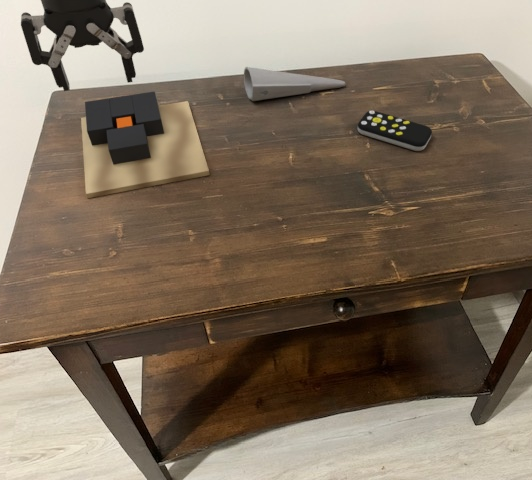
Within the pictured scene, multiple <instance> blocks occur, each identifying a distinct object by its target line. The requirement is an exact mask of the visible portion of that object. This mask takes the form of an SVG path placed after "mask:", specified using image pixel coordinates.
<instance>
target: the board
mask: <svg viewBox="0 0 532 480" xmlns="http://www.w3.org/2000/svg"><path fill="white" fill-rule="evenodd" d="M158 108H159V112H160V116H161V120H162V125H163V129H164V134H158V135H153V136H147V140H148V145H149V150H150V155H151V158H148V159H142V160H137V161H131V162H125V163H120V164H113V162H112V159H111V156H110V153H109V149H108V143H105V144H99V145H93V146H92V144H91V141H90V138H89V136H88V133H87V124H86V116H84V117H81V118H80V122H81V123H80V125H81V139H82V154H83V155H82V156H83V171H84V172H83V173H84V187H85V196H86V198H87V199H92V198H98V197H102V196H103V197H104V196H107V195H112V194H117V193H118V194H119V193H123V192H129V191H133V190H139V189H144V188H149V187H154V186H155V187H156V186H159V185H166V184H170V183H175V182H176V183H177V182H181V181H187V180H191V179H197V178H201V177H208V176H210V169H209V165H208V163H207V159H206V156H205V152H204V150H203V146H202V143H201V140H200V136H199V132H198V130H197V126H196V123H195V120H194V117H193V113H192V110H191V106H190V103H189V101H188V100H185V101H179V102H173V103H167V104H159V105H158Z"/></svg>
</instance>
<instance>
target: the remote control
mask: <svg viewBox="0 0 532 480" xmlns="http://www.w3.org/2000/svg"><path fill="white" fill-rule="evenodd" d="M357 132H358V133H359V134H360V135H362V136H365V137H369V138H373V139H375V140H379V141H382V142H385V143H388V144H391V145H395V146H398V147H401V148H405V149H407V150H411V151H413V152H414V151H415V152H421V151H423V150H424V149H425V148H427V145H428V143H429V141H430V140H431V138H432V135H433V131H432V128H431V127H429V126H428V125H425V124H422V123H418V122H415V121H411V120H407V119H404V118H401V117H398V116H393V115H390V114H387V113H384V112H381V111H378V110H377V111H376V110H368V111H366V112H365V113H364V115H363V116H362V117H361V118H360V120H359V121H358V123H357Z"/></svg>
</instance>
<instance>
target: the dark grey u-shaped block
mask: <svg viewBox="0 0 532 480" xmlns="http://www.w3.org/2000/svg"><path fill="white" fill-rule="evenodd" d="M157 99H158V98H157V96H156V91H147V92H141V93H134V94H128V95H120V96H114V97H108V98H102V99H95V100H94V99H93V100H88V101H85V102H84V110H85V117H86V124H87V133H88V136H89V138H90V141H91V144H92V146H93V145H99V144H105V143H108V141H107V132H106V130H110V129H116V128H117V120H116V119H118V118H124V117H130V116H131V119H132V122H133V126H134V125H140V124H144V128H145V132H146V135H147V136H153V135H158V134H164V129H163V125H162V120H161V116H160V112H159V108H158V106H159V104H158V100H157Z"/></svg>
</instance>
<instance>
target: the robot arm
mask: <svg viewBox="0 0 532 480" xmlns="http://www.w3.org/2000/svg"><path fill="white" fill-rule="evenodd" d="M40 2H41V5H42V8H43V15H40V14H39V15H31V14H30V13H29V12H22V14H21V16H20V27H21V30H22V34H23V36H24V41H25V43H26V46H27V49H28V52H29V56H30V59H31V62H32V63H33V64H34V66H40V65H45V66H48V67H49V68H50V71H51V72H52V76H53V78H54V79H53V80H54V83H55V84H56V86H57V87H58V88H60V89H61V88H62V89H63V91H64V92H68V91H70V87H71V86H70V82H69V79H68V75H67V73H66V70H65V67H64V64H63V61H62V59H63V56H65V54H66V53H67V51H68V48H69V46H71V47H74V48H75V49H77V48H83V47H86V46H93V47H95V46H100V44H101V43H104V44H105V45H106V46H107V47H109V49H111V50H113V51H114V50H115V52H116V53H118V54H119V55H120V58H121V62H122V65H123V70H124V74H125V79H126V82H127V83H133V79H135V78H136V77H137V76H136V75H137V71H136V69H135V64H134V60H133V56H134V55H135V54H137V53H140V54H141V53H143V52H144V51H145V48H144V43H143V39H142V35H141V31H140V29H139V28H140V27H139V25H138V22H137V18H136V14H135V10H134V8H133V5H132V3H130V2H124V3H123V4H122V6H117V7H110V5H109V4H108V3H107V0H40ZM114 19H117V20H119V22H120V24H121V25H123V26H126V25H127V28H128V30H129V34H130V38H131V39H130V40H129V41H126V40H125V39H124V38H122V37H121V36H120V35H119V34H118V32H116V30H114V29H113V28H112V27H111V26H112V24H113V22H114V21H115V20H114ZM44 26H45V27H46V28H47V29H48V30H49V31H50V32H52V33H53V34H54V35H55V37H54V39H53V42H52V45H51V47H50V49H49V51H45V50H42V46H41V42H40V40H39V36H38V35H40V34H41V32H42V27H44Z"/></svg>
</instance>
